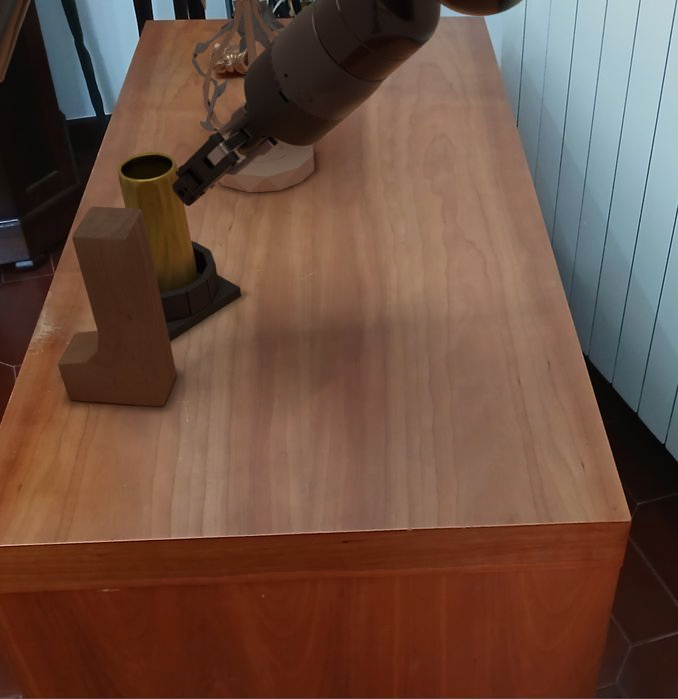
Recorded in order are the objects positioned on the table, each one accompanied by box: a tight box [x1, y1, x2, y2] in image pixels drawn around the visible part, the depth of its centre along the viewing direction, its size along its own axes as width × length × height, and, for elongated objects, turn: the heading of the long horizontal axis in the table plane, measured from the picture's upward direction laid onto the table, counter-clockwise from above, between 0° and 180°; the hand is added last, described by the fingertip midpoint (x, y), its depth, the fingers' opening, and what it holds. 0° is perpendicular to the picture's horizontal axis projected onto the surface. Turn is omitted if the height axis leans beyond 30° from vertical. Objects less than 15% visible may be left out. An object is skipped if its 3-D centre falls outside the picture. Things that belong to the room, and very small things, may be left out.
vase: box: [117, 151, 199, 293], centre depth 88 cm, size 6×6×14 cm
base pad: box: [160, 240, 242, 342], centre depth 92 cm, size 10×10×4 cm
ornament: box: [209, 42, 249, 75], centre depth 132 cm, size 8×7×4 cm
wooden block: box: [57, 206, 177, 407], centre depth 78 cm, size 9×4×18 cm, turn 82°
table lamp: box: [191, 0, 315, 194], centre depth 100 cm, size 22×22×40 cm
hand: (213, 172), depth 79 cm, fingers open, 8 cm apart
